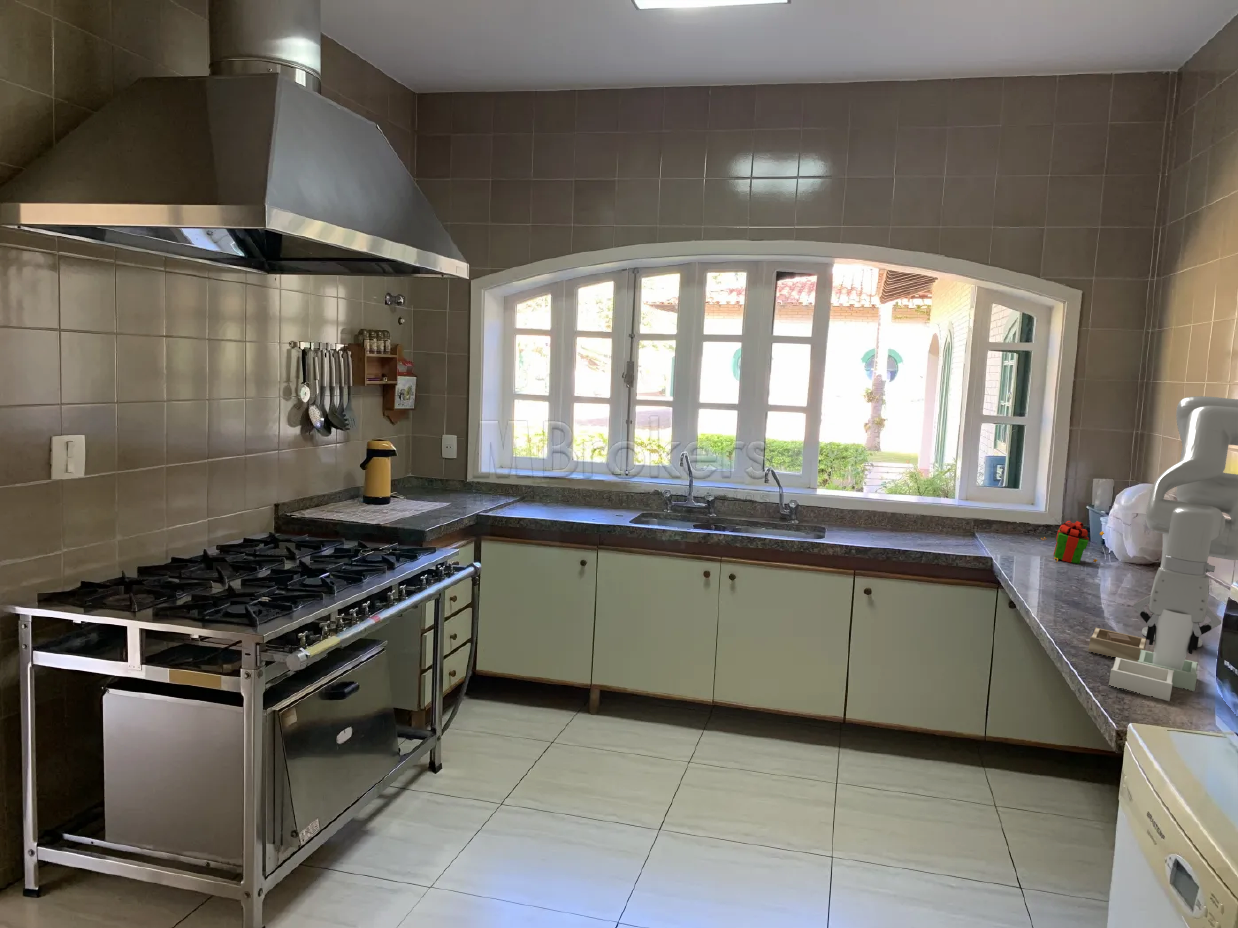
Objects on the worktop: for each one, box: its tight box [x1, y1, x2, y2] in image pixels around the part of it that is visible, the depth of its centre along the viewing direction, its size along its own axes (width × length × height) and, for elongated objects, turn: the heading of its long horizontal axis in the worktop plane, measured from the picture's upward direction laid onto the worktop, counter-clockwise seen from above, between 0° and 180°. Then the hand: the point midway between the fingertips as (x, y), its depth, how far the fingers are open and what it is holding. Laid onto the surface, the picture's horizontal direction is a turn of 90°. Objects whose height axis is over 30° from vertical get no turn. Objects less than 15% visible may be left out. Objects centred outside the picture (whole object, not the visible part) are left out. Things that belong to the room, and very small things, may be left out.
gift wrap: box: [1040, 520, 1105, 565], centre depth 298 cm, size 20×19×14 cm
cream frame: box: [1108, 657, 1174, 702], centre depth 176 cm, size 10×11×4 cm
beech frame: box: [1087, 627, 1148, 662], centre depth 198 cm, size 10×11×4 cm
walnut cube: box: [1106, 633, 1131, 645], centre depth 198 cm, size 4×4×4 cm
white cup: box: [1153, 609, 1193, 670], centre depth 182 cm, size 7×7×15 cm
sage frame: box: [1138, 649, 1198, 692], centre depth 183 cm, size 10×11×4 cm
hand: (1170, 647), depth 182 cm, fingers closed on white cup, 6 cm apart
